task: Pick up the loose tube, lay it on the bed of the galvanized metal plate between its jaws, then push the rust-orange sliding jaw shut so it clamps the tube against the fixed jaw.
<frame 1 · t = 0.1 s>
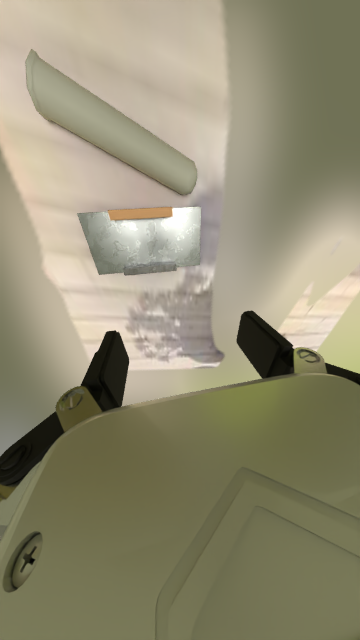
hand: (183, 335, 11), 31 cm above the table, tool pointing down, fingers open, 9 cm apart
galvanized metal plate: (147, 242, 35), on the table
tube: (132, 150, 27), on the table
jaw: (141, 213, 29), point 3 cm above the table, slide at 0.0 cm
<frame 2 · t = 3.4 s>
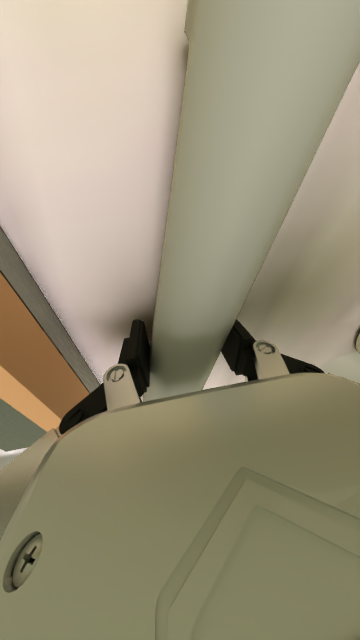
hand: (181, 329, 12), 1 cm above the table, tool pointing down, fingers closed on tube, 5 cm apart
tube: (179, 320, 13), on the table, touching gripper
jaw: (37, 375, 9), point 3 cm above the table, slide at 0.0 cm
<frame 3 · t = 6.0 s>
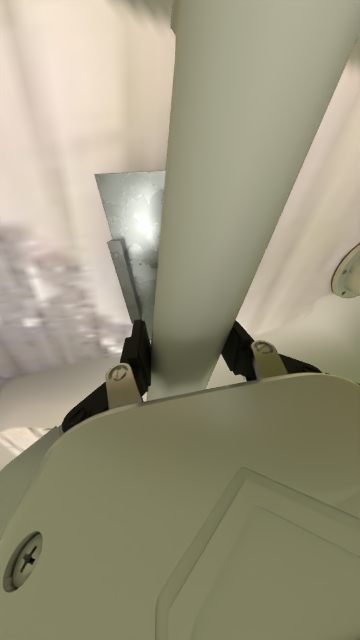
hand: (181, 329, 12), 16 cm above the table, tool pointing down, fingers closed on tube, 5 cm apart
galvanized metal plate: (162, 275, 25), on the table
tube: (180, 321, 13), point 15 cm above the table, touching gripper
when the fingers open (4 cm above the table, at t = 8.7 s): tube drops 2 cm, resting on galvanized metal plate.
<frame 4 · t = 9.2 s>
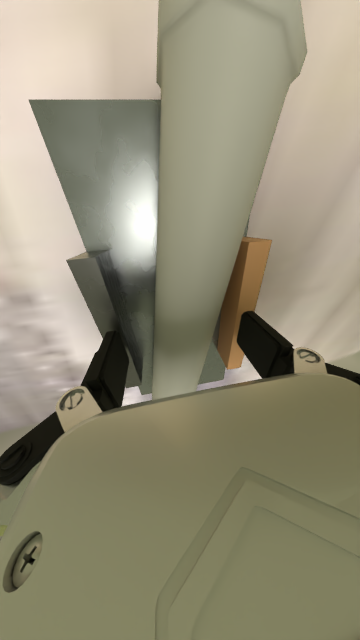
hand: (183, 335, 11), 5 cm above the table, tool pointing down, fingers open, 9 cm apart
galvanized metal plate: (174, 305, 16), on the table
tube: (178, 309, 14), point 1 cm above the table, touching galvanized metal plate
jaw: (235, 313, 13), point 3 cm above the table, slide at 0.0 cm
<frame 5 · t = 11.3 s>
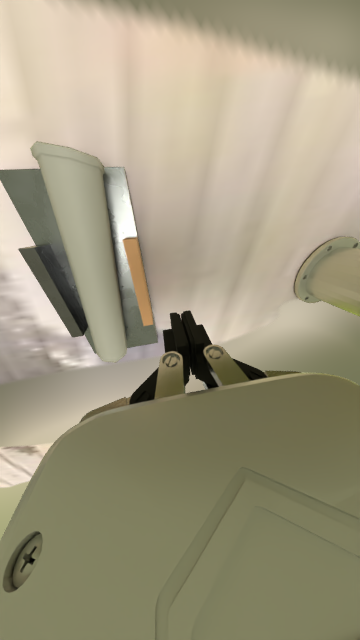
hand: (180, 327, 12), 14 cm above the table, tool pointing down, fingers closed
galvanized metal plate: (107, 283, 23), on the table
tube: (104, 284, 22), point 1 cm above the table, touching galvanized metal plate
jaw: (140, 285, 21), point 3 cm above the table, slide at 0.0 cm
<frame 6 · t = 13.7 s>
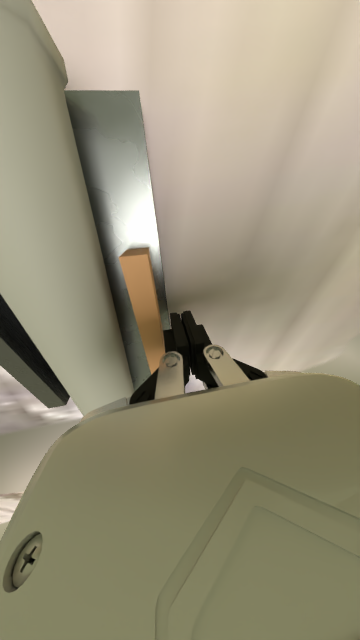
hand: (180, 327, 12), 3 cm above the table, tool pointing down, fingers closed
galvanized metal plate: (106, 318, 14), on the table
tube: (98, 323, 13), point 1 cm above the table, touching galvanized metal plate
jaw: (152, 329, 12), point 3 cm above the table, slide at 0.8 cm, touching gripper
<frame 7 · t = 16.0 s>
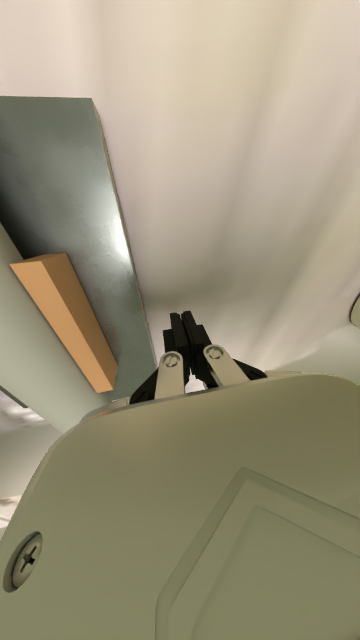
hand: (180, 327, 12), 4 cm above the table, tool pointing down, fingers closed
galvanized metal plate: (82, 317, 15), on the table
tube: (51, 325, 13), point 1 cm above the table, touching galvanized metal plate
jaw: (84, 334, 12), point 3 cm above the table, slide at 4.1 cm
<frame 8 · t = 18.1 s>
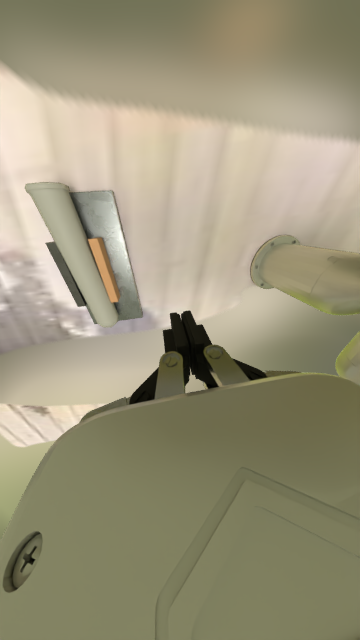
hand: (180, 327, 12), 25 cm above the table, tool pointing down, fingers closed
galvanized metal plate: (103, 269, 32), on the table
tube: (91, 269, 30), point 1 cm above the table, touching galvanized metal plate
jaw: (106, 272, 29), point 3 cm above the table, slide at 3.8 cm
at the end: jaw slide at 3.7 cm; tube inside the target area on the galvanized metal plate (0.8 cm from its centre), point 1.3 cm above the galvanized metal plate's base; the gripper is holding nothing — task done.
